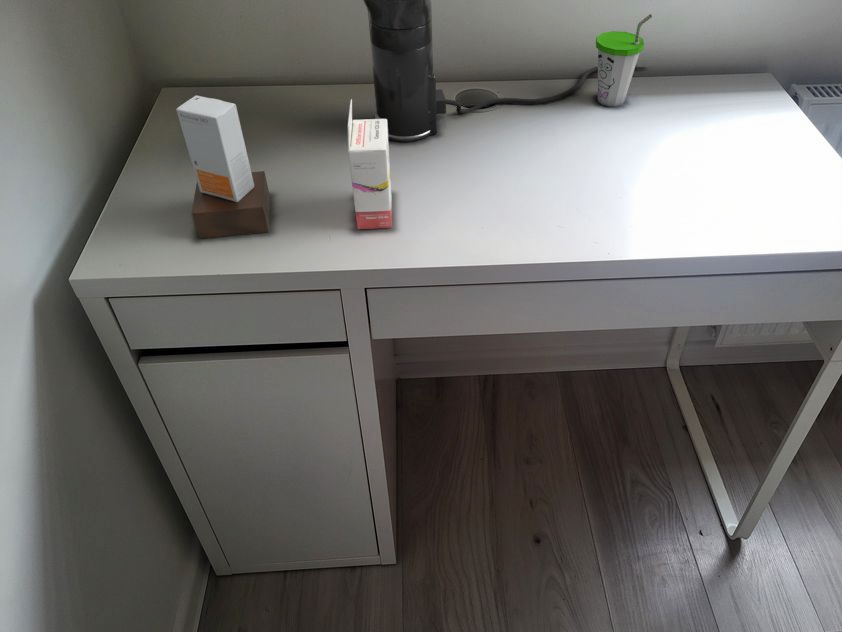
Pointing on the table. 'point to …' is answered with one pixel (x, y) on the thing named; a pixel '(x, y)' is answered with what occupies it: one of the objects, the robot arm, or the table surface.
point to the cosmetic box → (216, 147)
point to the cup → (617, 63)
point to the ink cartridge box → (370, 171)
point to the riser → (233, 212)
